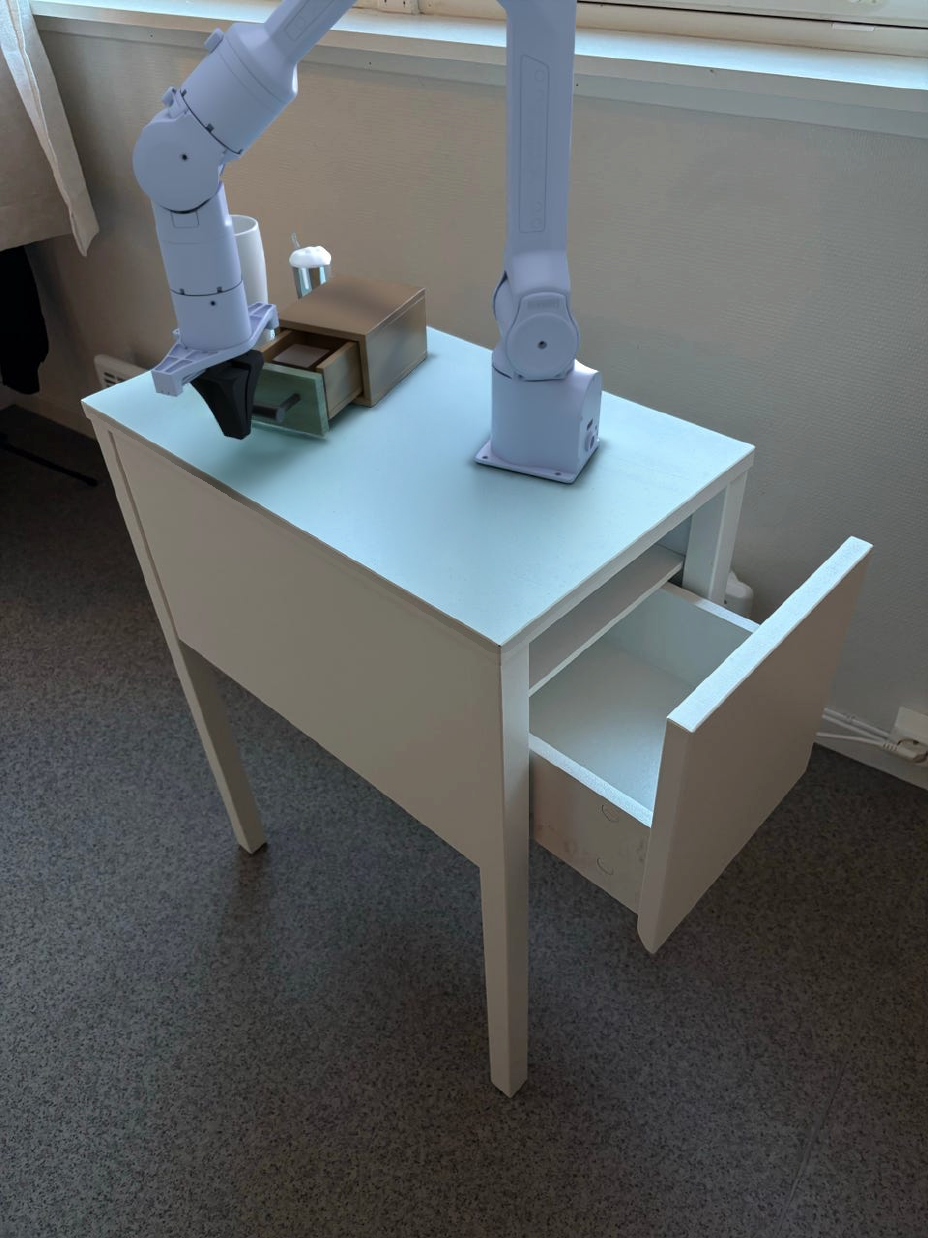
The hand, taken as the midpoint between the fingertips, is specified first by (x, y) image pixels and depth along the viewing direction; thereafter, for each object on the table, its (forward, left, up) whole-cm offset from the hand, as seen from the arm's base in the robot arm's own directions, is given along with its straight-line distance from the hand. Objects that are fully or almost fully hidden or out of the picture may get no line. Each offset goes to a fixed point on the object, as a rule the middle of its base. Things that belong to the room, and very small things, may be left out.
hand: (237, 434), depth 81 cm
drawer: (0, -10, -3) cm, 10 cm away
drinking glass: (+11, -17, -4) cm, 20 cm away
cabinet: (0, -21, -3) cm, 21 cm away
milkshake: (+10, -29, -4) cm, 31 cm away
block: (0, -11, -1) cm, 11 cm away
